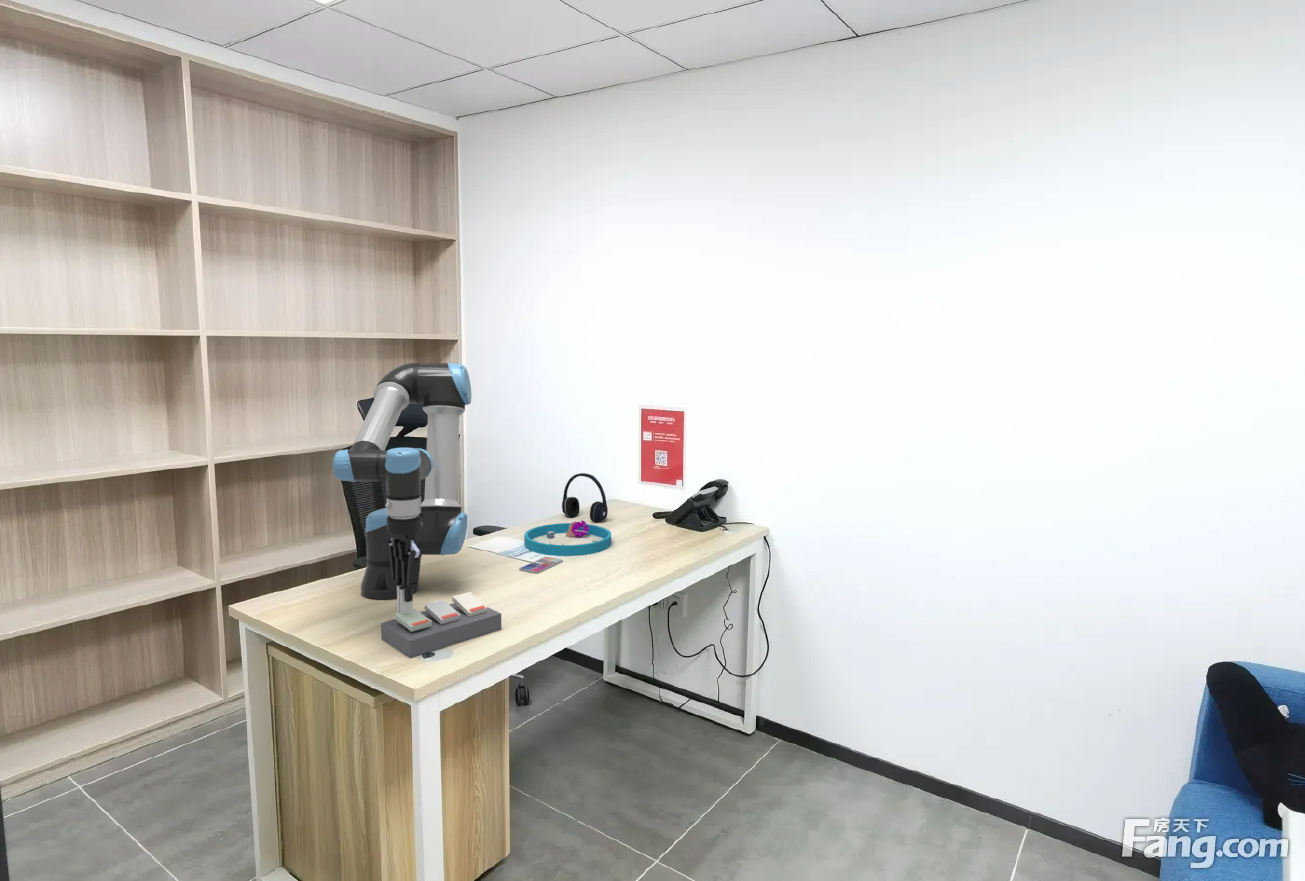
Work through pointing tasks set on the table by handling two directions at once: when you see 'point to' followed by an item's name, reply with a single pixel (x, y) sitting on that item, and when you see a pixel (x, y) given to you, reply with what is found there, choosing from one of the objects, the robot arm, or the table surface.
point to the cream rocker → (469, 604)
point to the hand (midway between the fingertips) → (405, 612)
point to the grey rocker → (442, 611)
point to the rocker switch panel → (439, 632)
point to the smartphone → (540, 565)
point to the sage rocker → (413, 620)
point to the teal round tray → (571, 531)
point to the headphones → (572, 504)
